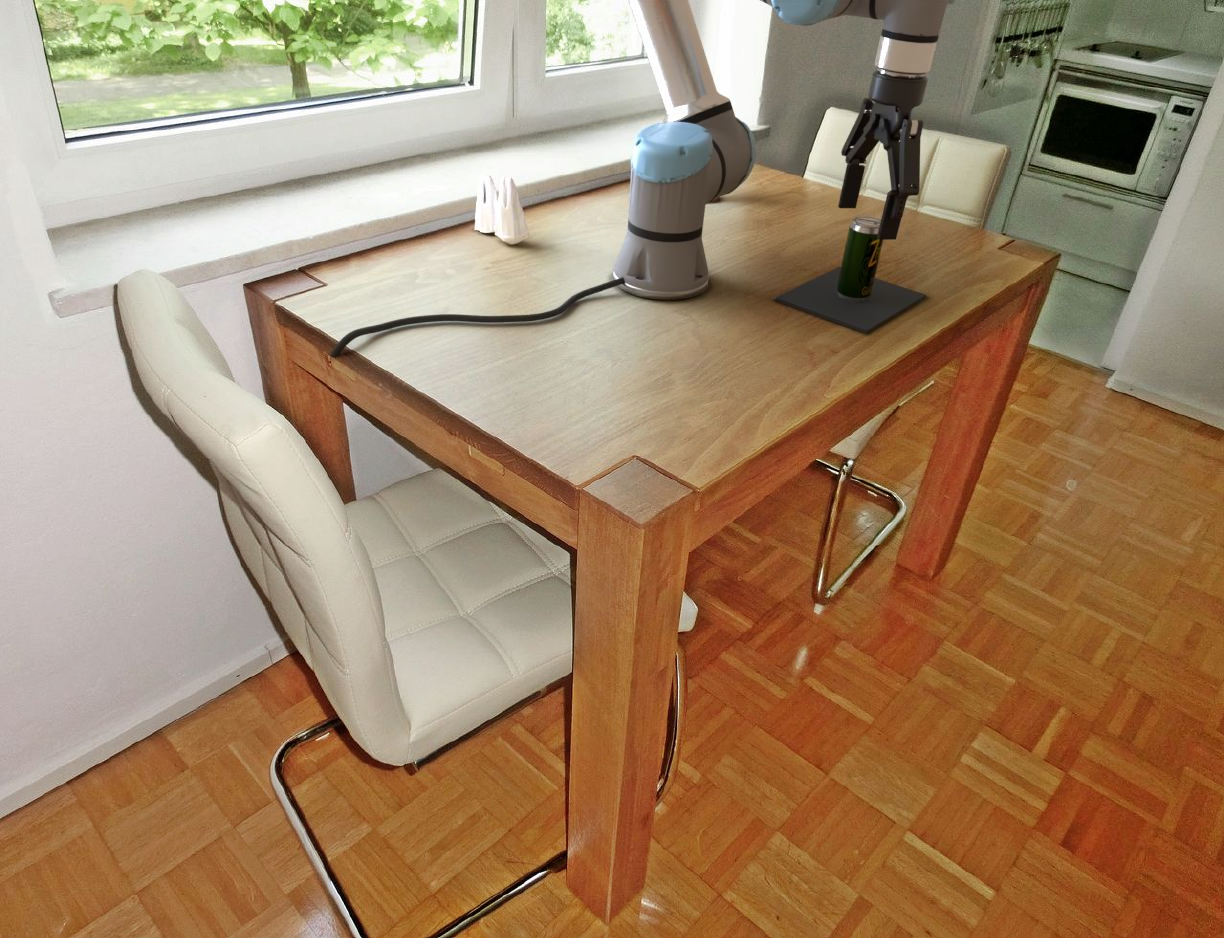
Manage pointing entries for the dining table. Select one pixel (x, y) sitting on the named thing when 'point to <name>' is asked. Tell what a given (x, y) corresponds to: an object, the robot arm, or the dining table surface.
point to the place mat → (850, 302)
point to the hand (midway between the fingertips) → (865, 222)
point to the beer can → (860, 259)
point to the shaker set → (500, 211)
